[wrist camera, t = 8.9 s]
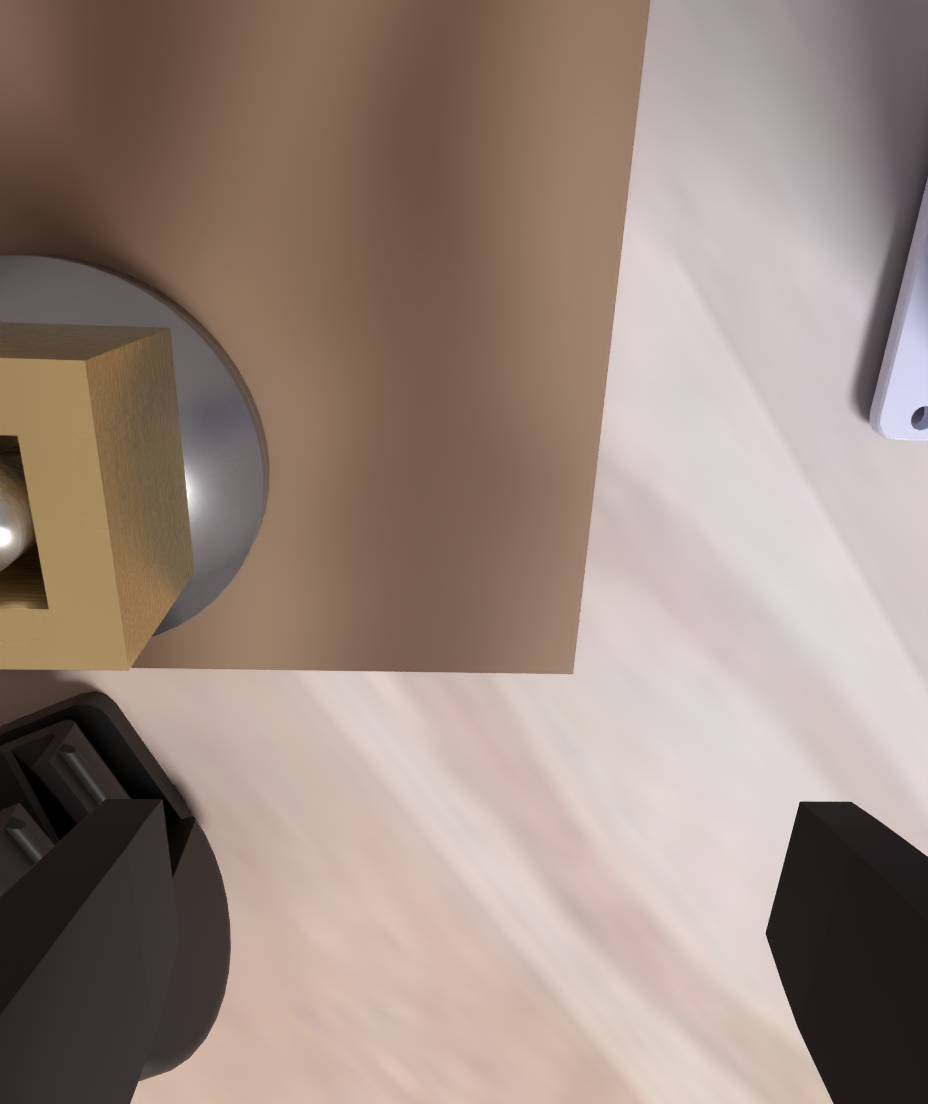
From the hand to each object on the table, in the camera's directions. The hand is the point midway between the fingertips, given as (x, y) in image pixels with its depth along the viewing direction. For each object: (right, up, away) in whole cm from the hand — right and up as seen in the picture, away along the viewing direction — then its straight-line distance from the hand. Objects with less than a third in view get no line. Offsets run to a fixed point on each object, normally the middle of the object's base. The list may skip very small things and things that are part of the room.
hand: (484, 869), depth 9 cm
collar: (-8, +6, +6) cm, 12 cm away
